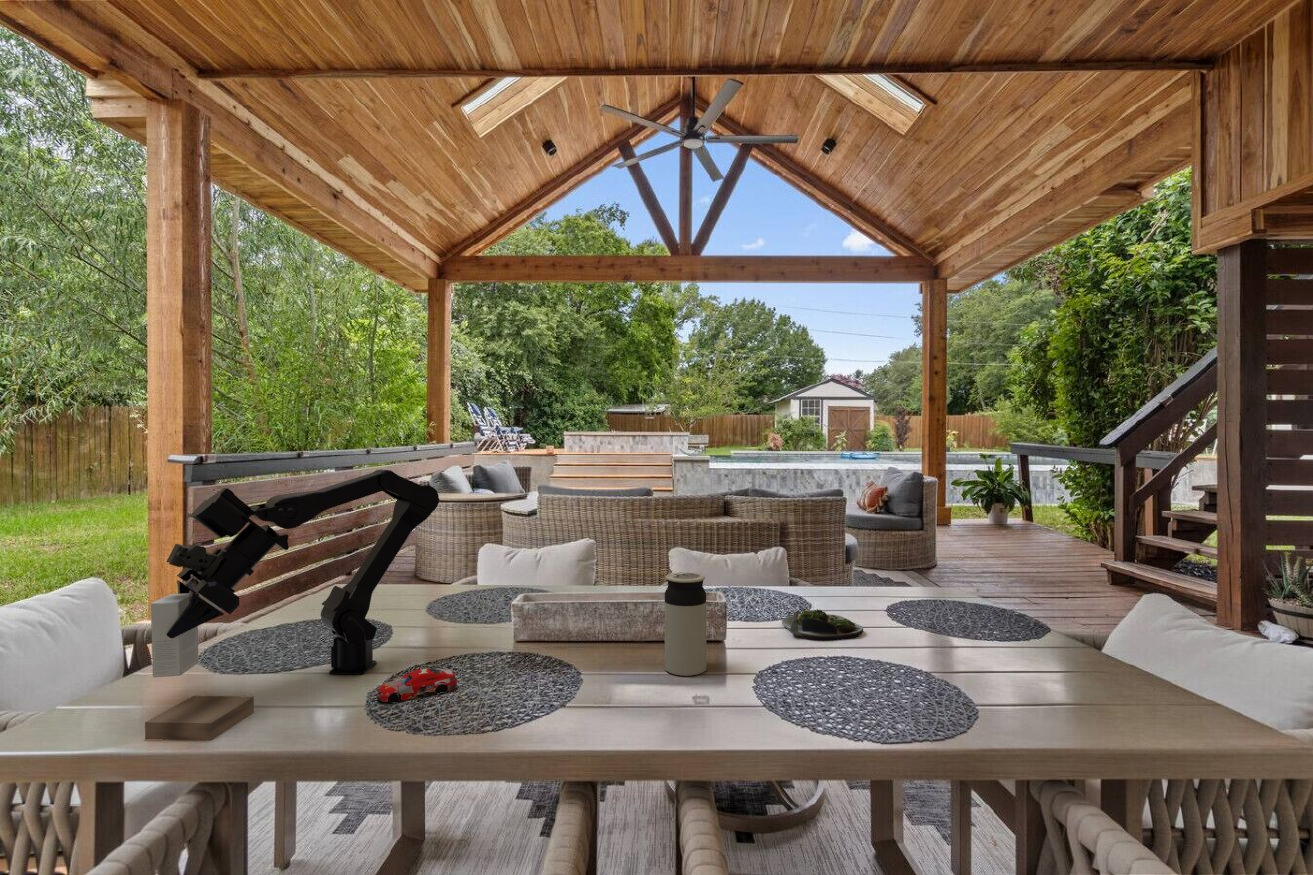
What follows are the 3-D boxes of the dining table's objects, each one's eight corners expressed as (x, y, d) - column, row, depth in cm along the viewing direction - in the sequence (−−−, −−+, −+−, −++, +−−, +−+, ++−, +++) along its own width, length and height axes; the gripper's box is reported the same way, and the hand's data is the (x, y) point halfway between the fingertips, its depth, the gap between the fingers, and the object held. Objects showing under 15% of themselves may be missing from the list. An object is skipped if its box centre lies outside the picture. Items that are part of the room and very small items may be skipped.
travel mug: (714, 669, 129) (714, 575, 129) (687, 680, 123) (687, 582, 123) (683, 659, 134) (683, 569, 134) (656, 670, 128) (655, 576, 128)
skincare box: (171, 665, 112) (169, 593, 112) (199, 663, 113) (198, 592, 113) (150, 678, 106) (149, 602, 106) (180, 676, 107) (179, 601, 107)
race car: (378, 708, 111) (378, 684, 111) (375, 697, 116) (374, 674, 116) (459, 693, 118) (459, 670, 118) (452, 683, 123) (452, 661, 123)
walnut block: (253, 714, 109) (253, 696, 109) (211, 743, 99) (211, 723, 99) (193, 714, 109) (193, 695, 109) (145, 742, 99) (145, 722, 99)
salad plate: (764, 621, 163) (764, 602, 163) (832, 616, 167) (832, 597, 167) (797, 645, 145) (797, 623, 145) (873, 639, 148) (873, 618, 148)
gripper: (191, 520, 119) (112, 593, 111) (214, 530, 105) (126, 614, 98) (243, 558, 124) (171, 630, 117) (271, 573, 111) (192, 655, 103)
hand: (164, 631), depth 108 cm, fingers closed on skincare box, 7 cm apart
